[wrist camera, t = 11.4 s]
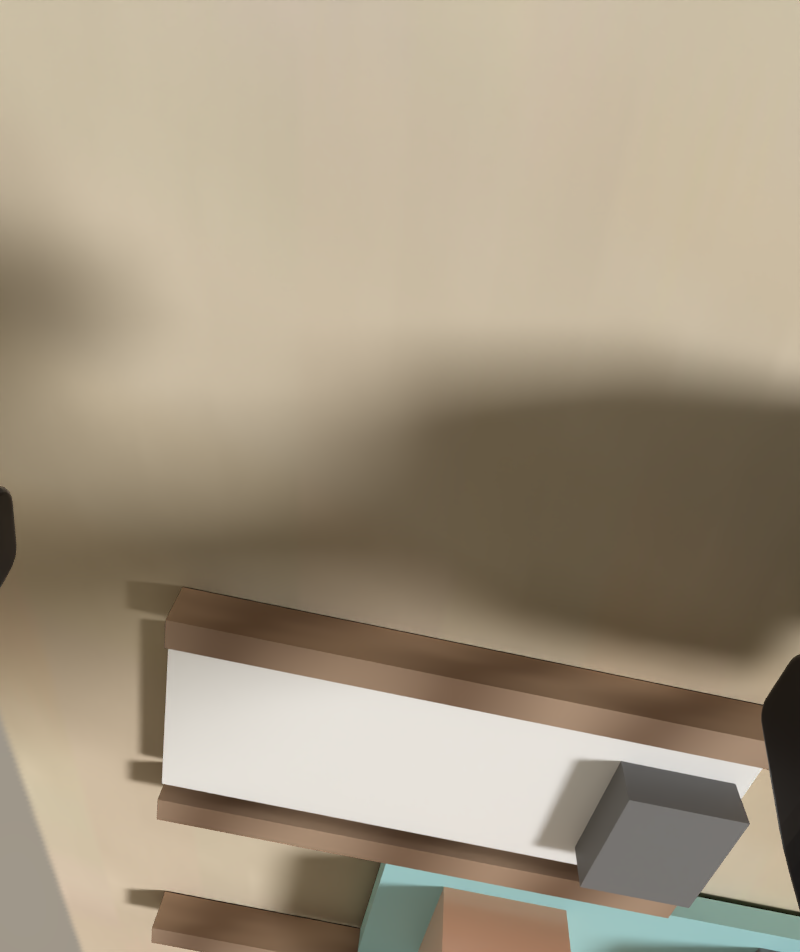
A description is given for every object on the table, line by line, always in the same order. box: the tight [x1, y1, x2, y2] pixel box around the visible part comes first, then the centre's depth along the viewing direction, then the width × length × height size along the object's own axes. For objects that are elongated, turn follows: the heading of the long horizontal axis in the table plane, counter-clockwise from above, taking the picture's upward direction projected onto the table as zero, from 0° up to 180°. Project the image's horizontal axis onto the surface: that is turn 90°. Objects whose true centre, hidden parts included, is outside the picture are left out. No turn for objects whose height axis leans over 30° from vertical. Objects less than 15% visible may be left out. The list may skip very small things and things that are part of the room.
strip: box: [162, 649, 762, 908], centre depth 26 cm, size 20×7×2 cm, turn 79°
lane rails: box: [152, 587, 769, 952], centre depth 29 cm, size 20×19×2 cm
